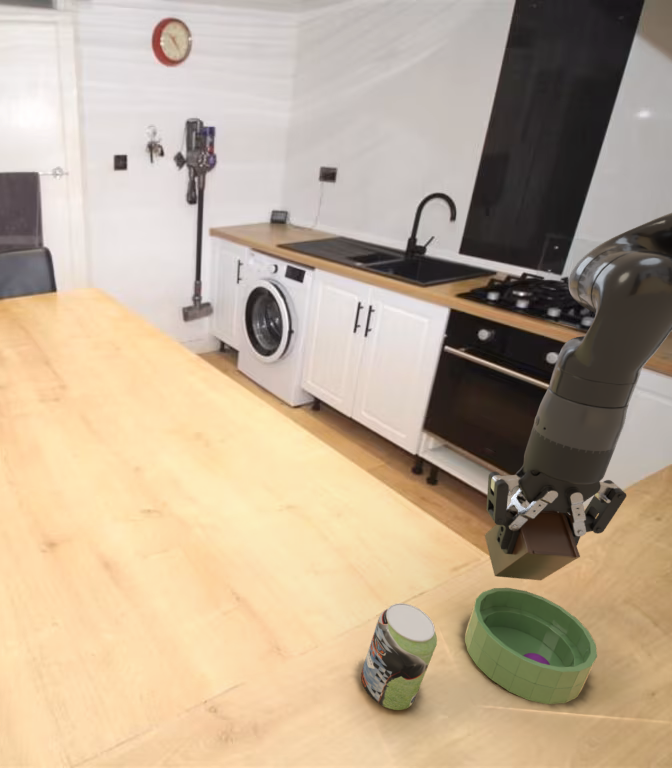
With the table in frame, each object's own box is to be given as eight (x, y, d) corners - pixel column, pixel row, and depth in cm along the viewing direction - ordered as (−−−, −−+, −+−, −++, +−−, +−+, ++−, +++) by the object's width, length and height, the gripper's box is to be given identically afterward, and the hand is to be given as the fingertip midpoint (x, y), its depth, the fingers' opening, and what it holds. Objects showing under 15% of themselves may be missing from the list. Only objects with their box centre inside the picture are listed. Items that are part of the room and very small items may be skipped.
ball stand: (484, 534, 73) (514, 507, 66) (528, 538, 72) (564, 510, 65) (494, 576, 70) (527, 552, 62) (541, 580, 69) (580, 556, 62)
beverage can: (373, 662, 68) (382, 584, 64) (435, 698, 63) (448, 614, 59) (349, 694, 64) (357, 611, 60) (413, 734, 59) (426, 647, 55)
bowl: (534, 620, 73) (546, 586, 71) (606, 706, 62) (625, 669, 60) (445, 622, 73) (455, 588, 71) (502, 710, 62) (516, 673, 59)
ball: (523, 651, 67) (520, 645, 65) (554, 662, 65) (553, 656, 63) (518, 678, 66) (515, 673, 64) (550, 690, 64) (549, 685, 61)
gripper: (520, 443, 57) (482, 568, 64) (670, 453, 55) (615, 580, 62) (490, 412, 64) (458, 527, 71) (623, 420, 62) (578, 537, 69)
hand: (532, 551), depth 66 cm, fingers closed on ball stand, 5 cm apart
